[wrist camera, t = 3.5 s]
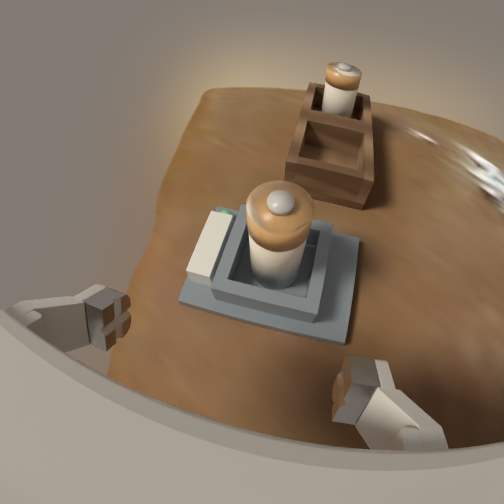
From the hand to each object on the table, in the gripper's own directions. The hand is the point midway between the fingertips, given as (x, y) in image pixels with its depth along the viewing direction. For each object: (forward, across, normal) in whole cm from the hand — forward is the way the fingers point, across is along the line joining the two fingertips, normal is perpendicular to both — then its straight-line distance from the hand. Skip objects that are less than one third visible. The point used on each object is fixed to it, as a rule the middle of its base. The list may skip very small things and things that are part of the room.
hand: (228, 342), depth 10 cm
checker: (+16, 0, +3) cm, 16 cm away
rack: (+28, -3, -10) cm, 30 cm away
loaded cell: (+31, -3, -14) cm, 34 cm away
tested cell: (+15, 0, +2) cm, 15 cm away
